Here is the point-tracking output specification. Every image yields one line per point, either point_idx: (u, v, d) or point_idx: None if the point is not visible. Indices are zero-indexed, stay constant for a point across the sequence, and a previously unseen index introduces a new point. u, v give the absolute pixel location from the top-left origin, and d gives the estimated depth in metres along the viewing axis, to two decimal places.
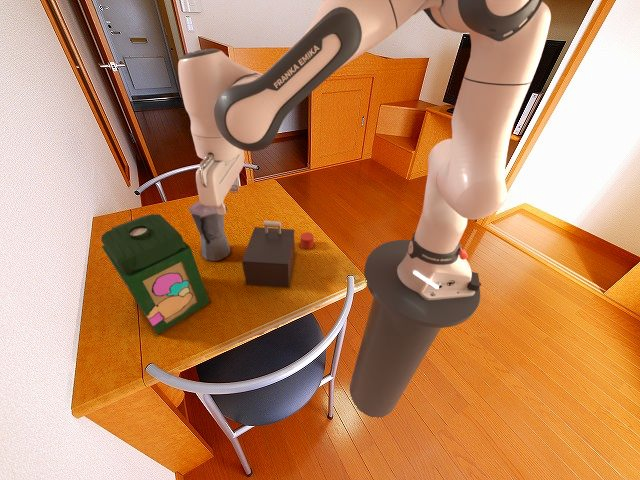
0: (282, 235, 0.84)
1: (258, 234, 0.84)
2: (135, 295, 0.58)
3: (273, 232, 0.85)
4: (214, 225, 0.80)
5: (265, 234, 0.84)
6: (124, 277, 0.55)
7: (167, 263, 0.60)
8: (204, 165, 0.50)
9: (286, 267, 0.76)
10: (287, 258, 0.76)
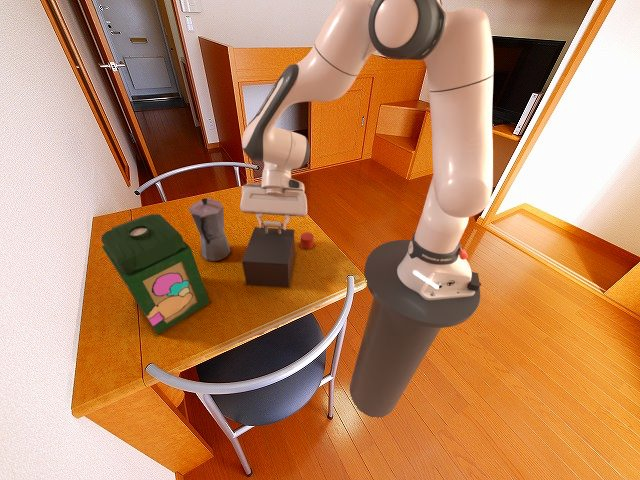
0: (282, 235, 0.84)
1: (258, 234, 0.84)
2: (135, 295, 0.58)
3: (273, 232, 0.85)
4: (214, 225, 0.80)
5: (265, 234, 0.84)
6: (124, 277, 0.55)
7: (167, 263, 0.60)
8: (247, 184, 0.84)
9: (286, 267, 0.76)
10: (287, 258, 0.76)
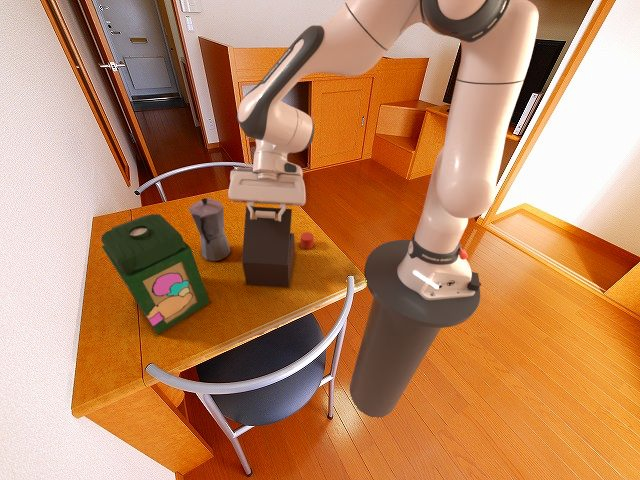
0: (278, 221, 0.75)
1: None
2: (135, 295, 0.58)
3: None
4: (214, 225, 0.80)
5: (260, 220, 0.75)
6: (124, 277, 0.55)
7: (167, 263, 0.60)
8: (236, 168, 0.73)
9: (286, 267, 0.76)
10: (286, 257, 0.75)
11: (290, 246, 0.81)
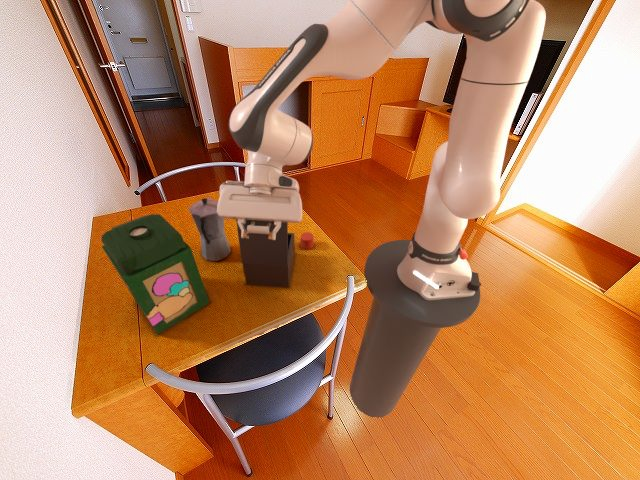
0: (273, 227, 0.68)
1: (245, 225, 0.68)
2: (135, 295, 0.58)
3: (261, 221, 0.68)
4: (214, 225, 0.80)
5: (253, 225, 0.68)
6: (124, 277, 0.55)
7: (167, 263, 0.60)
8: (226, 182, 0.66)
9: (286, 267, 0.76)
10: (286, 259, 0.73)
11: (290, 246, 0.81)
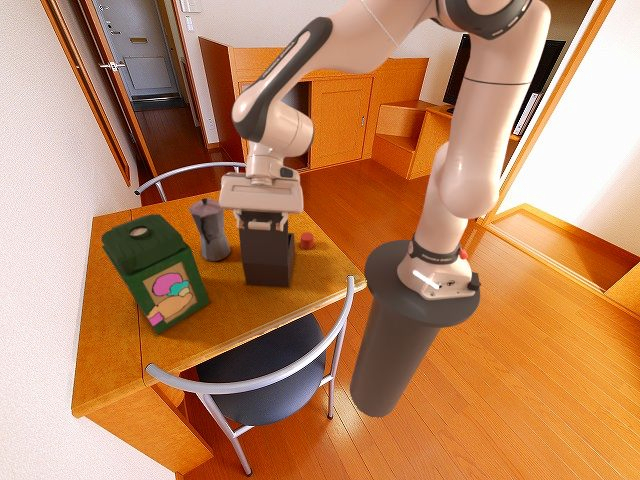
0: (274, 225, 0.69)
1: (246, 223, 0.69)
2: (135, 295, 0.58)
3: (262, 219, 0.69)
4: (214, 225, 0.80)
5: None
6: (124, 277, 0.55)
7: (167, 263, 0.60)
8: (228, 173, 0.67)
9: (286, 267, 0.76)
10: (286, 258, 0.74)
11: (290, 246, 0.81)
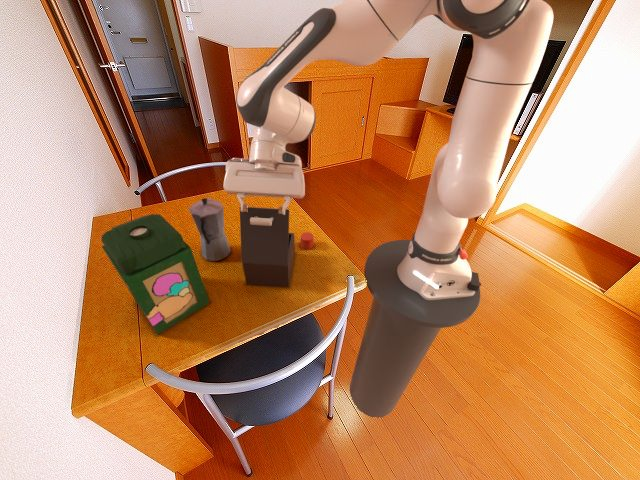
0: (275, 223, 0.71)
1: (247, 221, 0.71)
2: (135, 295, 0.58)
3: (264, 216, 0.70)
4: (214, 225, 0.80)
5: None
6: (124, 277, 0.55)
7: (167, 263, 0.60)
8: (232, 159, 0.69)
9: (286, 267, 0.76)
10: (286, 258, 0.74)
11: (290, 246, 0.81)
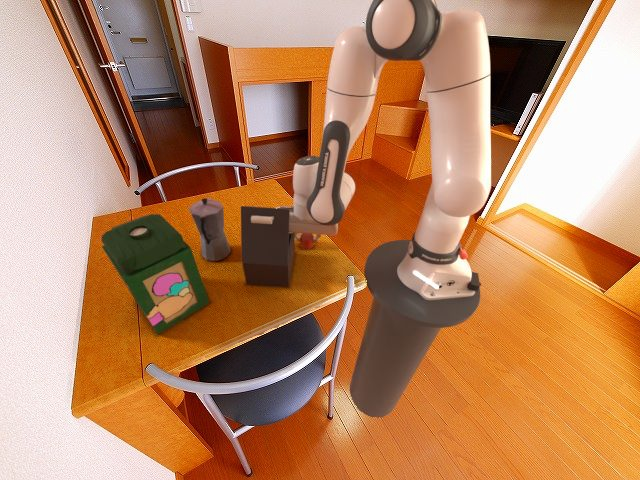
0: (276, 222, 0.71)
1: (248, 220, 0.71)
2: (135, 295, 0.58)
3: (265, 216, 0.71)
4: (214, 225, 0.80)
5: None
6: (124, 277, 0.55)
7: (167, 263, 0.60)
8: (279, 207, 0.86)
9: (286, 267, 0.76)
10: (286, 257, 0.74)
11: (290, 246, 0.81)
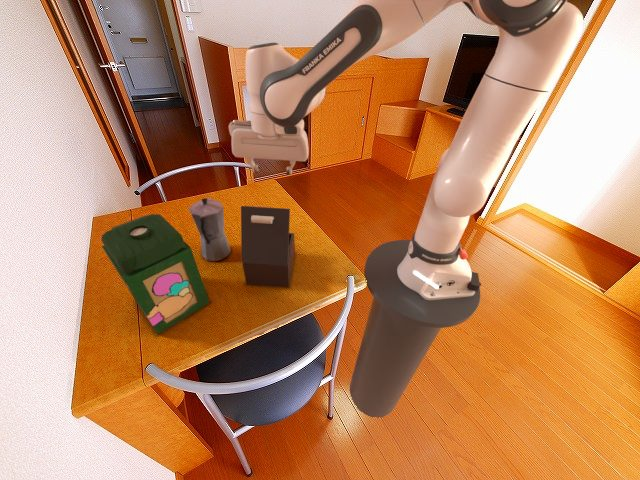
0: (276, 222, 0.72)
1: (248, 220, 0.72)
2: (135, 295, 0.58)
3: (265, 216, 0.71)
4: (214, 225, 0.80)
5: None
6: (124, 277, 0.55)
7: (167, 263, 0.60)
8: (233, 122, 0.69)
9: (286, 267, 0.76)
10: (286, 257, 0.74)
11: (290, 246, 0.81)
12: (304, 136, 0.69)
